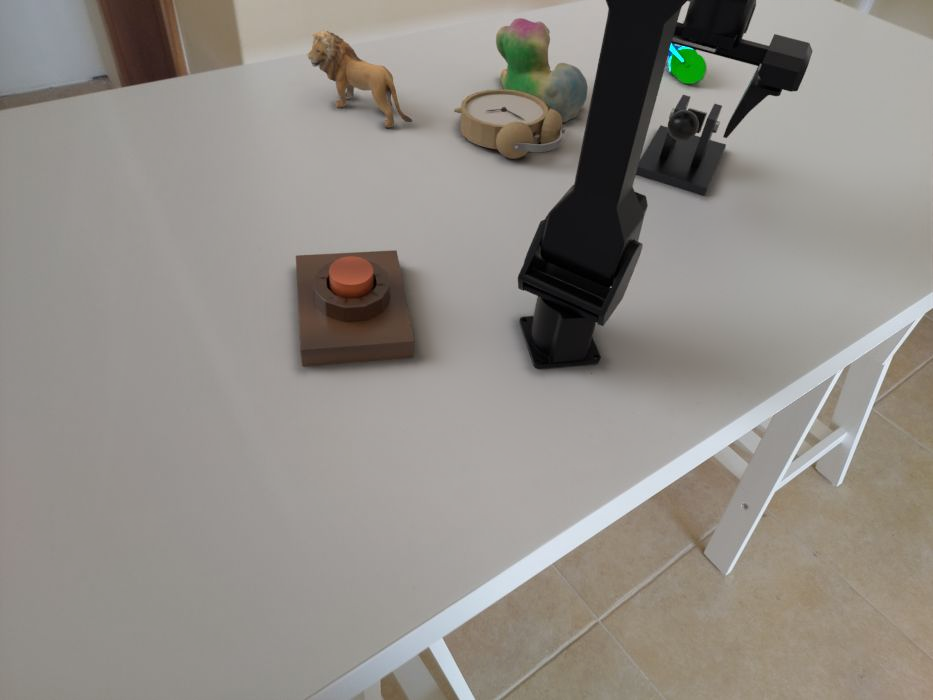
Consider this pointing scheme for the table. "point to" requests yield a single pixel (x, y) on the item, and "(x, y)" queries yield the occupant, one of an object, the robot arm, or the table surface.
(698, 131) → the lever
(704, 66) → the stick construction toy
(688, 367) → the table surface
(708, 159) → the bracket
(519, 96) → the alarm clock
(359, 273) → the button
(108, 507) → the table surface
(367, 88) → the lion figurine
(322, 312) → the button block
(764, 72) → the robot arm
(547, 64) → the sculpture
